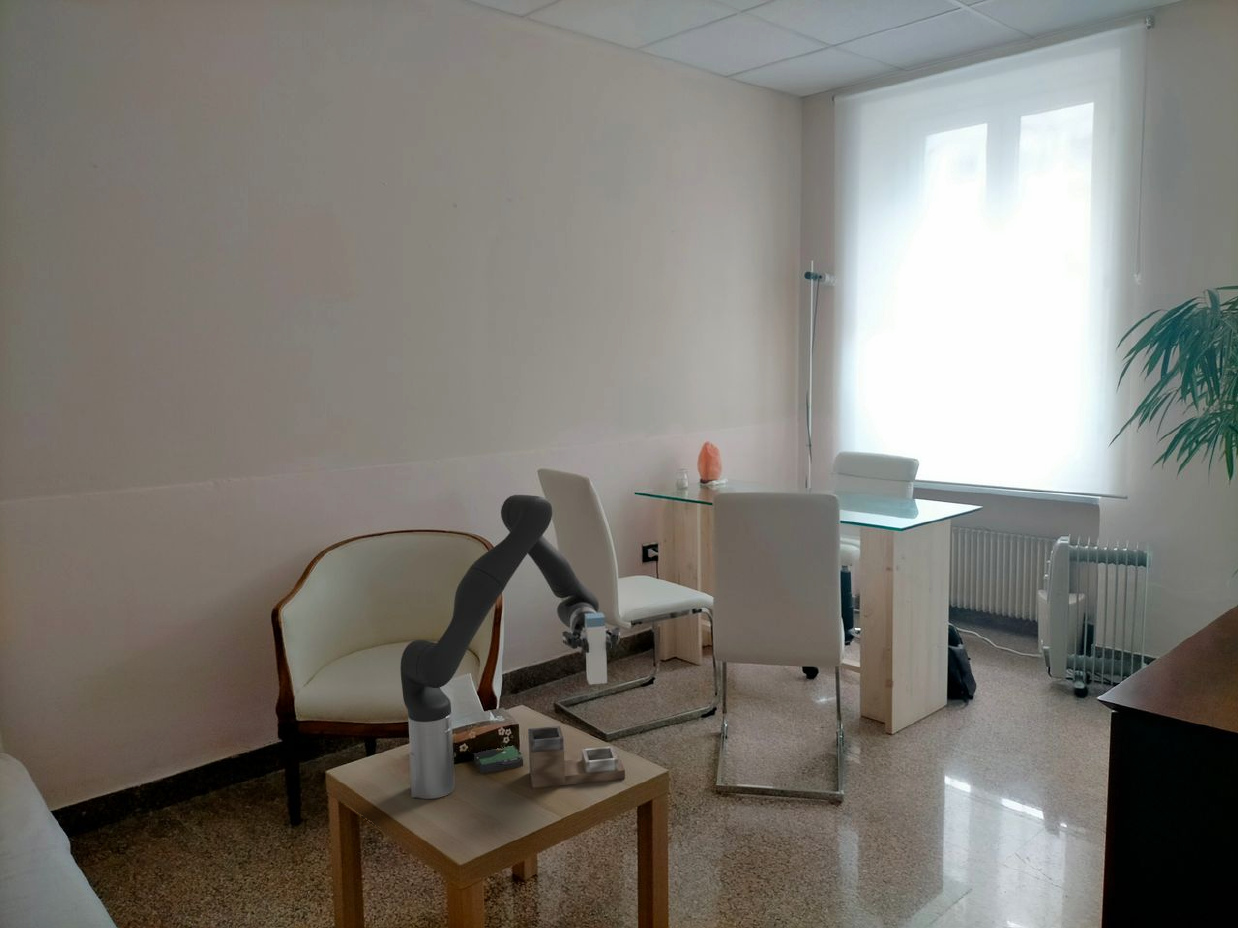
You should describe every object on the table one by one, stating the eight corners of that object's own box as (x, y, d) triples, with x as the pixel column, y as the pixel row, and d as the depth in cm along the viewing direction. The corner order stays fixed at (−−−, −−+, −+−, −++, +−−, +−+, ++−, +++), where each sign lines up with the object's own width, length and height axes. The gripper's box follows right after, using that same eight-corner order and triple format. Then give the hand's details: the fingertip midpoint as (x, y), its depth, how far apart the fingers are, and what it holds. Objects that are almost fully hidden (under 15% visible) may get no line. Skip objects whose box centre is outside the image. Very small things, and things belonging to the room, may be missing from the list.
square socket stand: (532, 787, 205) (530, 741, 204) (529, 772, 213) (528, 727, 212) (625, 778, 208) (623, 733, 207) (619, 763, 216) (617, 719, 215)
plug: (589, 684, 207) (587, 618, 205) (586, 678, 211) (584, 613, 209) (607, 682, 208) (605, 617, 206) (604, 676, 212) (602, 612, 210)
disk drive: (465, 752, 226) (481, 776, 213) (465, 741, 226) (480, 764, 213) (506, 744, 230) (524, 767, 217) (506, 733, 230) (524, 755, 217)
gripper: (556, 612, 221) (565, 633, 204) (615, 608, 223) (629, 628, 206) (557, 643, 222) (566, 666, 205) (616, 638, 224) (630, 661, 207)
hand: (597, 647), depth 206 cm, fingers closed on plug, 4 cm apart
